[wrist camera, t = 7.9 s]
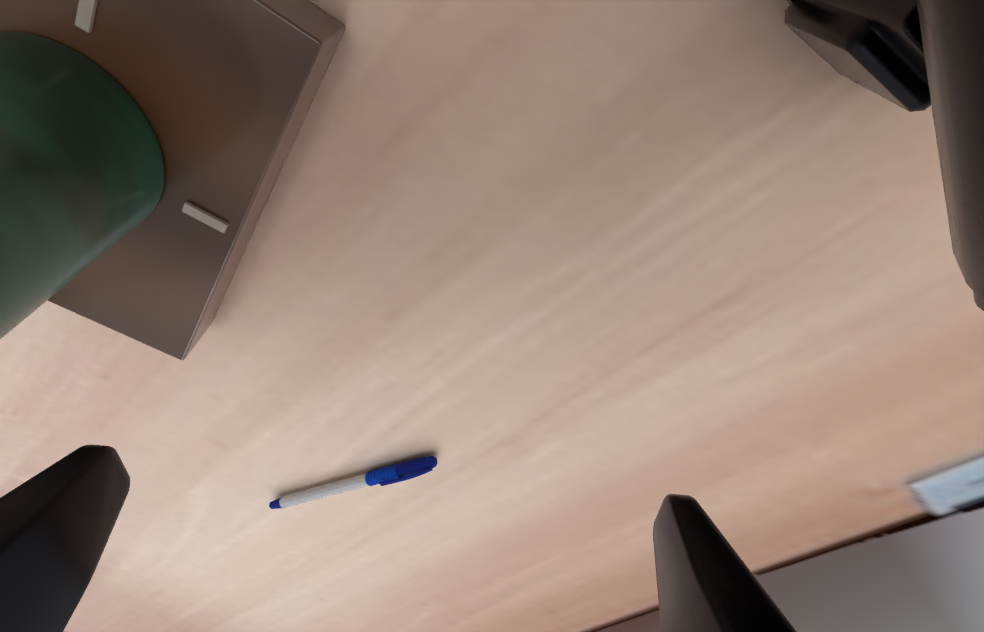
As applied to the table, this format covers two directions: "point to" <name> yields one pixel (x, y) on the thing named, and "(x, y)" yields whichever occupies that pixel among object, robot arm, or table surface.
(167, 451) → the table surface
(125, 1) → the dial knob base plate
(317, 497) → the ballpoint pen
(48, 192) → the rotary knob
